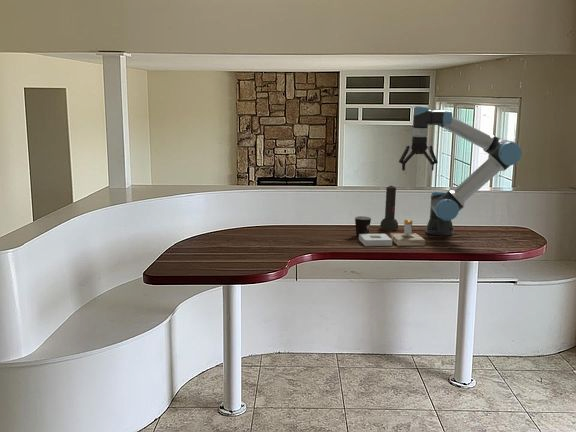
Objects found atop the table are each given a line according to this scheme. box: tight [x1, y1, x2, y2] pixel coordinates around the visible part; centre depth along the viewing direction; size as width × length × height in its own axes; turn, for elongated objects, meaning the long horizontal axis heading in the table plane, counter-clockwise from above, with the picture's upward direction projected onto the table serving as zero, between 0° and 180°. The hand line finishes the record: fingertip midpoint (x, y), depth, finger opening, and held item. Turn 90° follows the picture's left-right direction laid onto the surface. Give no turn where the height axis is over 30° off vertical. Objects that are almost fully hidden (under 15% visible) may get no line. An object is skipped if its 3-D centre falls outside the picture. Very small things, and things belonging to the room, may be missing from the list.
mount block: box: [358, 233, 393, 247], centre depth 328 cm, size 14×14×3 cm
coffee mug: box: [354, 215, 372, 238], centre depth 341 cm, size 12×9×10 cm
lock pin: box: [403, 219, 413, 238], centre depth 329 cm, size 4×4×12 cm
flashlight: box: [379, 185, 399, 232], centre depth 358 cm, size 10×25×10 cm
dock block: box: [389, 232, 426, 247], centre depth 330 cm, size 14×14×3 cm
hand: (417, 176), depth 335 cm, fingers open, 13 cm apart
